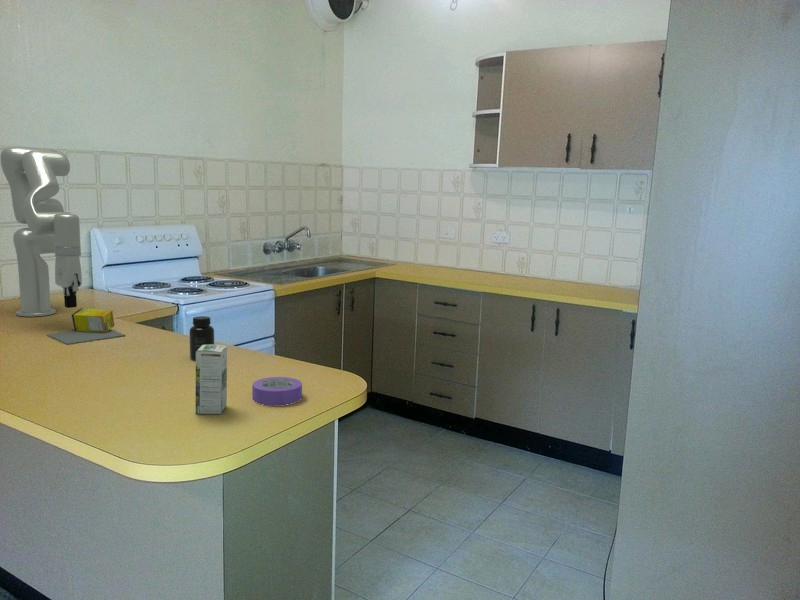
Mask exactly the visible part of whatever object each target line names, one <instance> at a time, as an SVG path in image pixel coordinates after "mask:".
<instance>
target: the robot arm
mask: <svg viewBox="0 0 800 600" xmlns="http://www.w3.org/2000/svg"><path fill="white" fill-rule="evenodd" d="M0 166H1V169H2V173H3V174H4V176H5V179H6V181H7V182H8V183H7V184H8V185H9V190H10V196H11V200H12V201H11V202H12V203H11V204H12V209H13V214H14V218H15V220H16V222H18V223H19V224H23V225H27V227H22V228H19V229H17V230H15V232H14V233H13V237H12V238H13V240H12V241H13V245H14V248H15V254H16V259H17V268H18V269H17V270H18V284H19V301H20V309H18V310H16V311H15V314H16V315H17V316H19V317H27V318H29V317H31V318H32V317H45V316H50V315H53V314H56V312H57V311H56V308H53V307H51V292H50V291H51V289H50V271H49V265H48V263H47V261H46V260H45V259H44V258H43V257H41V255H44V254H47V255H48V254H54V257H55V263H54V266H55V267H54V280H55V281H54V282H55V284H56V285H57V286H58V287H61V289H62V291H63V299H64V300H63V301H64V308H67V309H71V308H77V306H78V303H77V293H78V292H79V290H80V289H79V287H81V286H82V282H83V277H82V276H83V275H82V267H81V259H80V258H81V257H82V250H81V249H82V248H81V231H80V229H81V228H80V227H81V225H80V224H81V223H80V217H79V216H78V215H77V214H75V213H71V212H65V209H64V206H63V204H62V203H61V201H59V200H58V199H55V198H53V197H55V196H56V195H57V194H58V193H59V191H60V185H59V183H58V179H57V177H66V176H67V175H68V174H69V173H70V170H71V163H70V160H69V158H68V156H67V155H66V154H65V153H64V152H61V151H60V150H59V151H58V150H55V149H53V148H52V149H51V148H41V147H28V146H8V147H5V148H4V149H3V150H2V151H1V152H0Z"/></svg>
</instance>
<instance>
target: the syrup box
mask: <svg viewBox="0 0 800 600" xmlns="http://www.w3.org/2000/svg"><path fill="white" fill-rule="evenodd" d="M227 372H228V346H227V345H223V344H214V345H213V344H209V345H202V346H201V347H200V348H199V349H198V350H197V351H196V360H195V414H196V415H222V414H223V412H224V410H225V409H226V407H227V394H228V393H227V392H228V391H227V390H228V389H227V388H228V387H227V385H228V383H227V382H228V378H227V377H228V375H227V374H228V373H227Z"/></svg>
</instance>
